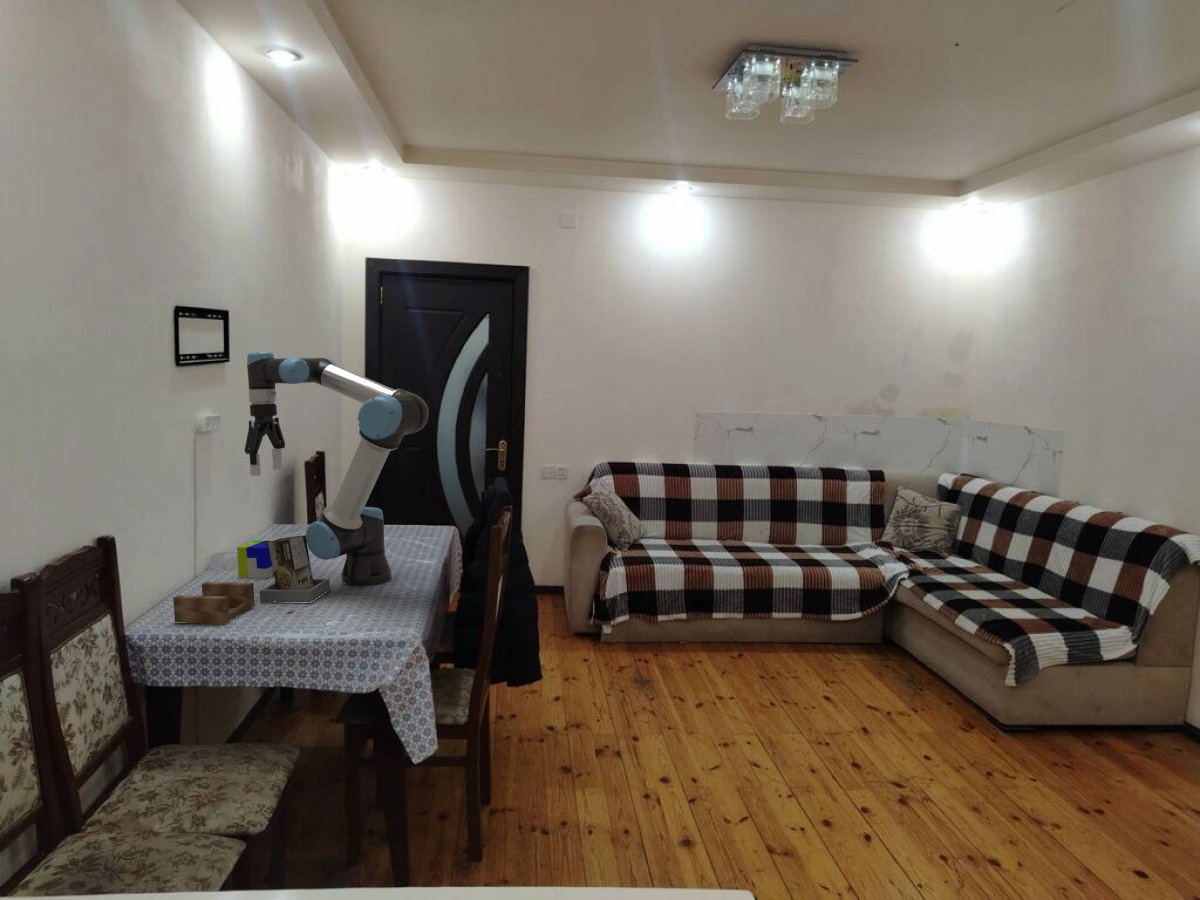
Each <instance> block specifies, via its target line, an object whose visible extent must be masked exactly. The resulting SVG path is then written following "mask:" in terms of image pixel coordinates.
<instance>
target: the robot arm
mask: <svg viewBox="0 0 1200 900" xmlns="http://www.w3.org/2000/svg"><path fill="white" fill-rule="evenodd" d="M246 357H247V358H246V359H247V361H246V362H247V363H246V364H247V365H246V368H247V369H246V370H247V380H248V382H247V383H248V396H249V397H248V398H249V399H248V401H249V403H250V405H249V414H250V416H251V417H254V420H248V430H247V437H246V440H245V446H244V452H245V454H246V455H249V468H250V477H253V476H254V477H255V476H256V477H258V476H259V477H260V476H261V475H262V474H261V473H262V472H261V458H260V456H261V455H260V453H258V452H259V450H260V447H261V444H262V441H263V438H264V436H266V435H267V437H268V440H269V441H270V443H271V445H272V447H273V448H272V449H271V453H272V457H271V458H272V469H273V470H278V471H279V470H280V471H281V470H284V469H283V453H282V452H283V451H282V449H285V447H286V441H285V438H284V435H283V432H282V429H281V425H280V420H279V419H280V417H276V416H277V414H278V410H277V409H278V408H277V407H278V406H277V404H276V403H275V402H276V401H277V392H276V384H287V385H288V384H290V385H298V384H308V383H309V384H310V383H311V384H312V383H314V384H318V385H320V386H322V387H325V388H327V389H330V390H332V391H334V392H336V393H339V394H341V395H343V396H346V397H348V398H350V399H352V400H354V401H357V402H359V403H362V405H361V407H360V408H359V410H358V415H357V421H358V427H359V430H358V434H359V436H360V438H361V439H360V442H359V444H358V446H357V449H356V451H355V453H354V455H353V457H352V459H351V462H350V464H349V467H348V469H347V471H346V473H345V475H344V478H343V480H342V482H341V484H340V486H339V488H338V491H337V494H336V495H335V498H334V500H333V502H332V504H331V505H327V506H325V508H324V509H323V512H322V513H321V514H320V517H319V519H318V521H317V520H316V521H313V522H312V523H310V524H309V525H308V526H307V528H306V531H305V535H306V542H307V547H308V550H310V552H311V553H312V554H313V556H314V557H315V558H318V559H320V560H322V561H323V560H325V561H326V560H333V559H337V558H339V557H342V556H345V560H344V564H343V568H342V570H341V575H340V576H341V577H340V578H341V583H342V582H343V583H342V584H344V583H345V584H344V585H347V584H349V585H348V586H354V585H364V586H372V585H377V584H383V583H386V582H387V581H390V580H391V579H392V569H391V567H390V564H389V561H388V559H387V556H386V552H385V551H386V550H385V526H384V522H385V520H384V514H383V510H382V509H381V508H379V507H375V506H374V507H373V506H366V505H367V502H368V500H369V498H370V496H371V493H372V491H373V489H374V487H375V485H376V482H377V480H378V479H379V476H380V474H381V471H382V469H383V467H384V466H385V463H386V461H387V458H388V457H389V455H390V452H391V451H394V450H397V449H398V448H399V446H400V444H401V441H402V440H403V438H404V436H406V435H410V434H415V433H417V432H420V431H421V430H422V429H423V428H424V427H425V426H426V424H427V422H428V419H429V415H430V414H429V407H428V405H427V403H426V401H425V400H424V399H423V398H421V396H419V395H417V394H415V393H413V392H411V391H407V390H405V389H403V388H397V389H394V388H392V387H389V386H386V385H384V384H382V383H379V382H377V381H374V380H372V379H370V378H368V377H365V376H362V375H360V374H358V373H355V372H354V371H353V372H352V371H351V370H348V369H345V368H344V367H340V366H339V365H337V364H336V362H335V361H334V360H333V359H331V358H328V357H327V358H325V357H307V358H306V357H305V358H304V357H302V358H299V357H298V358H297V357H284V358H283V357H281V358H275V357H274V353H273V352H271V351H270V352H269V351H266V352H265V351H261V352H260V351H253V352H249V353H247V356H246Z"/></svg>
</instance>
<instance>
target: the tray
mask: <svg viewBox="0 0 1200 900" xmlns="http://www.w3.org/2000/svg"><path fill="white" fill-rule="evenodd" d="M330 579H331V578H313V583H314V587H313V588H311V589H309V590H277V588H276V583H275V581H274V582H273V583H270V584H268V585H267V586H265V587H263V588H261V589H260V590H259V601H260V602H274V601H276V602H311V601H313V600H315V599H316V598H318V597H319V596H321V595H322V594H324V593H325V592H327V591H328V590H330V591H331V586H330V585H331V583H330V582H331V581H330ZM327 593H328V592H327ZM324 595H325V594H324ZM321 597H322V596H321ZM318 599H319V598H318ZM315 601H316V600H315ZM260 602H259V603H260Z"/></svg>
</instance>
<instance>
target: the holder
mask: <svg viewBox="0 0 1200 900" xmlns="http://www.w3.org/2000/svg"><path fill="white" fill-rule="evenodd" d="M201 591H202V595H176V596H174V597H173V599H172V602H173V612H174V615H173V616H174V623H175V622H187V623H202V624H201V625H227V624H229V623H230V622H231V621H232V620H231V619H233V618H234V619H236V618H237V617H236V616H238V615H239V616H241V615H242V614H241V613H243V612H245V611H246V612H248V611H249V610H248V609H250V610H252V609H254V608H255V607H256V604H255V589H254V582H232V581H231V582H225V581H223V582H219V581H218V582H217V581H215V582H214V581H205V582H203V583H201ZM254 606H255V607H254ZM253 607H254V608H253ZM229 608H234V609H229ZM251 608H252V609H251ZM247 610H248V611H247ZM246 612H245V613H246ZM240 614H241V615H240ZM243 614H244V613H243ZM239 616H238V617H239ZM235 617H236V618H235ZM234 619H233V620H234ZM230 620H231V621H230ZM229 621H230V622H229ZM228 622H229V623H228ZM226 623H227V624H226Z"/></svg>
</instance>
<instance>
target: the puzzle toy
mask: <svg viewBox="0 0 1200 900" xmlns="http://www.w3.org/2000/svg"><path fill="white" fill-rule="evenodd" d="M270 541H271V540H257V539H256V540H253V541H250V542H248V543H245V544H242V545H239V546H237V547H236V551H237V552H236V554H237V556H236V557H237V568H238V569H237V571H238V579H240V578H241V579H257V578H264V579H263V580H266V579H265V578H268V579H270V578H272V577H274V576H273V575H274V572H273V566H272V561H271V555H270V550H269V544H268V542H270ZM271 576H272V577H271ZM269 577H270V578H269Z"/></svg>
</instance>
